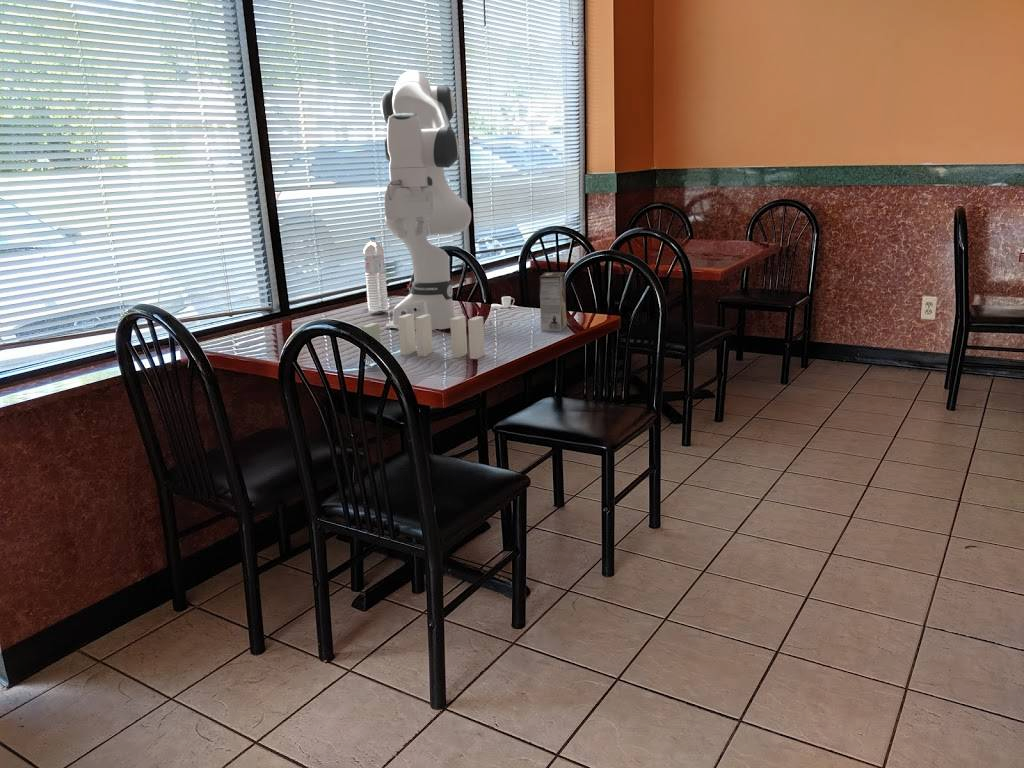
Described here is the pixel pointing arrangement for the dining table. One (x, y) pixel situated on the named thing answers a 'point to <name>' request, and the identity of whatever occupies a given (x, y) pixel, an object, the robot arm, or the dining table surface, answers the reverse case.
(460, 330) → the domino
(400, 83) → the robot arm
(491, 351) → the dining table surface
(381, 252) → the water bottle
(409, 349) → the domino
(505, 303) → the teacup and saucer
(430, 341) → the domino
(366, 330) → the domino
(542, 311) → the coffee box
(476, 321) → the domino
